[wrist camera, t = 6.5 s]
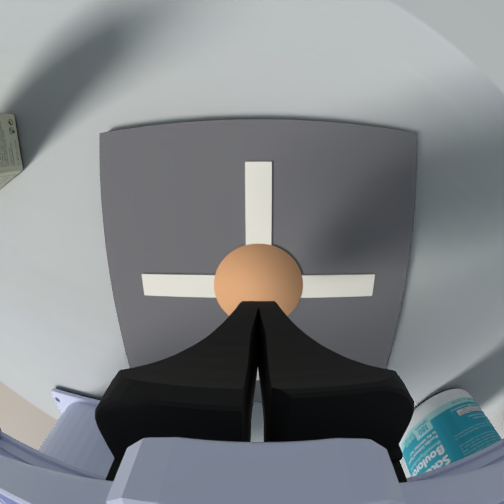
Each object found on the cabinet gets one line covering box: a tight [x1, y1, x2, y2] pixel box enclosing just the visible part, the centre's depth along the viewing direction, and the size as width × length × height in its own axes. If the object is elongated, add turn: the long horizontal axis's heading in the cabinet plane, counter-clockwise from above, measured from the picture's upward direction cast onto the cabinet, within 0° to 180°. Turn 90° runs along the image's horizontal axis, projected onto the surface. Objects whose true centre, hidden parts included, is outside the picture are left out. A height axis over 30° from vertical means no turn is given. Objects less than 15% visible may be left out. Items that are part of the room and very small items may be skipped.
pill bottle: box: [399, 389, 502, 477], centre depth 12 cm, size 8×7×14 cm
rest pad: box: [100, 119, 417, 402], centre depth 15 cm, size 16×16×1 cm
